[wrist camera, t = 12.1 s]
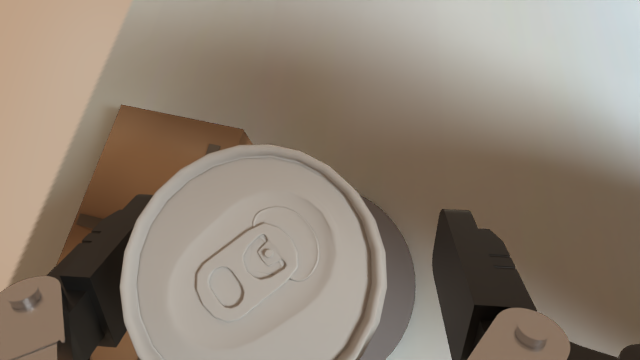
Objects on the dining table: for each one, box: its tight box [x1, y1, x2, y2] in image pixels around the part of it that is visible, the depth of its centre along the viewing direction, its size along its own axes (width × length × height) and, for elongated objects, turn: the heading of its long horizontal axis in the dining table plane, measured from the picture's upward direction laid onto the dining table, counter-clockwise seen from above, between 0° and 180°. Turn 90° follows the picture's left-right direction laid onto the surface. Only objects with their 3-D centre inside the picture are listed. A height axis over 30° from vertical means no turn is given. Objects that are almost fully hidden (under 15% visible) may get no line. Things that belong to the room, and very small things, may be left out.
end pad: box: [359, 196, 415, 360], centre depth 19 cm, size 9×9×1 cm
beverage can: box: [120, 144, 387, 360], centre depth 13 cm, size 5×5×12 cm
